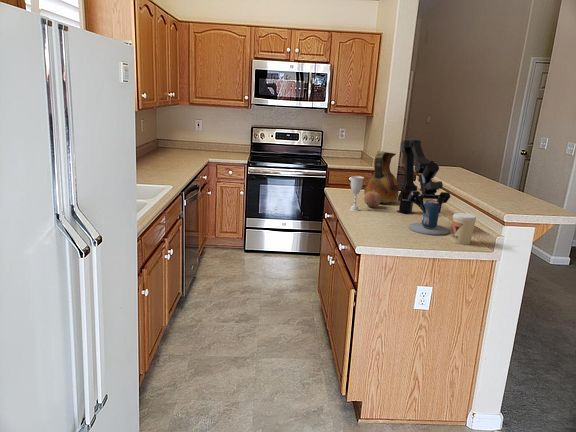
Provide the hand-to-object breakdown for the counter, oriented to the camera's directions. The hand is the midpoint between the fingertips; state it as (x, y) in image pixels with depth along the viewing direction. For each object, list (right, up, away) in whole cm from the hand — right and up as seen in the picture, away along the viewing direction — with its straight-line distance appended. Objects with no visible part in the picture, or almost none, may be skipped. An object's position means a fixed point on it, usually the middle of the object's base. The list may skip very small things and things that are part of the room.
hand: (432, 212), depth 214 cm
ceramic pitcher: (-12, +7, +60) cm, 62 cm away
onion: (-20, +3, +45) cm, 49 cm away
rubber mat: (-1, -8, +3) cm, 9 cm away
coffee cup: (+8, -13, -13) cm, 20 cm away
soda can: (0, -7, +3) cm, 7 cm away
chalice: (-31, +1, +36) cm, 47 cm away
